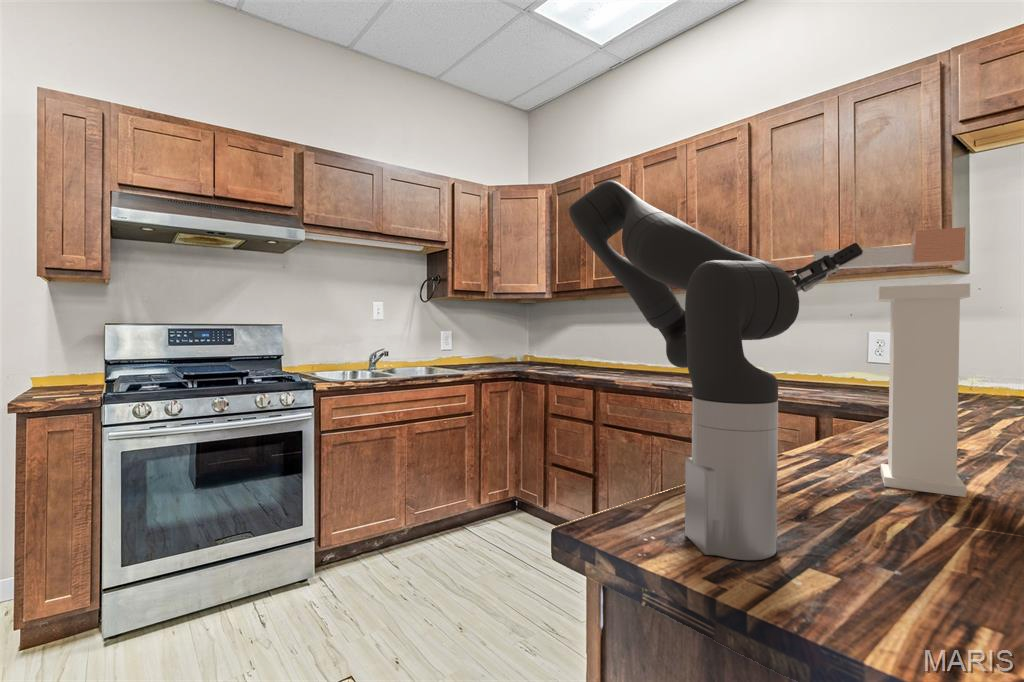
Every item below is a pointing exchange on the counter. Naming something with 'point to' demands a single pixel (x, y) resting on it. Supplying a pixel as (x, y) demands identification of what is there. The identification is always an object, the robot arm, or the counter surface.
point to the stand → (923, 387)
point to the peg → (911, 251)
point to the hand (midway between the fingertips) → (859, 249)
